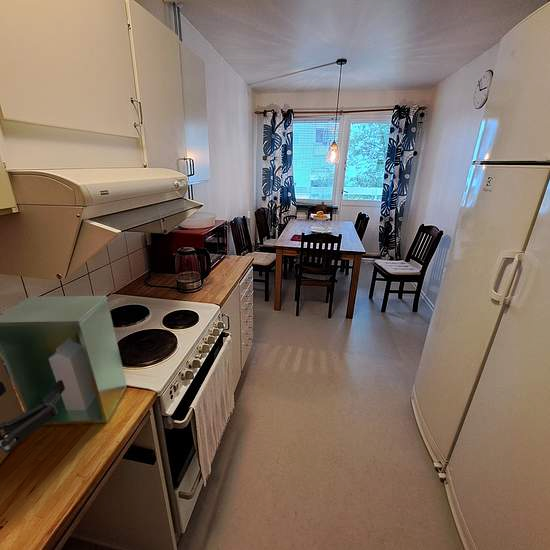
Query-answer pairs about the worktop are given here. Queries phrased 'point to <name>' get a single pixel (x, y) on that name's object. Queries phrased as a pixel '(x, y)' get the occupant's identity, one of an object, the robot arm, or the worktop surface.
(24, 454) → the worktop surface
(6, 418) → the fridge door
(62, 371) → the milk
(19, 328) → the fridge
